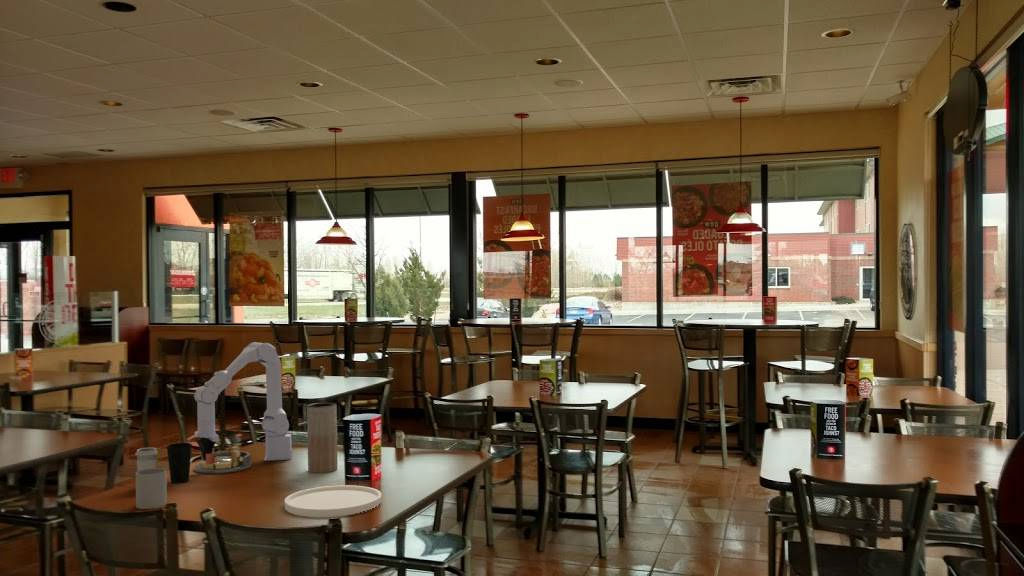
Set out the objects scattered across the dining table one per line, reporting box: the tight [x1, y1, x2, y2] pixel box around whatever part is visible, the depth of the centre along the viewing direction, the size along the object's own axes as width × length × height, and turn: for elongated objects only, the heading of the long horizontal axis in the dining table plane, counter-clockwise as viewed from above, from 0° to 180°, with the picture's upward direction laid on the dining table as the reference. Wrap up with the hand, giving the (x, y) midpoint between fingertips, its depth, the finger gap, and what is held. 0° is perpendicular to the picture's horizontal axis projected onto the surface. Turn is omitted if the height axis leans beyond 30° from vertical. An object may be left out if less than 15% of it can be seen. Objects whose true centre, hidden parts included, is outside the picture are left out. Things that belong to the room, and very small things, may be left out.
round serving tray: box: [194, 450, 252, 475], centre depth 297 cm, size 19×19×4 cm
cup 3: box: [166, 442, 193, 484], centre depth 278 cm, size 8×8×12 cm
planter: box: [306, 402, 338, 474], centre depth 292 cm, size 10×10×23 cm
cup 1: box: [135, 447, 159, 471], centre depth 271 cm, size 7×7×12 cm
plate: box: [284, 484, 383, 518], centre depth 247 cm, size 28×28×2 cm
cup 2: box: [135, 467, 168, 510], centre depth 248 cm, size 8×8×10 cm
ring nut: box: [200, 445, 243, 469], centre depth 297 cm, size 15×15×5 cm
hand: (206, 459), depth 293 cm, fingers closed
